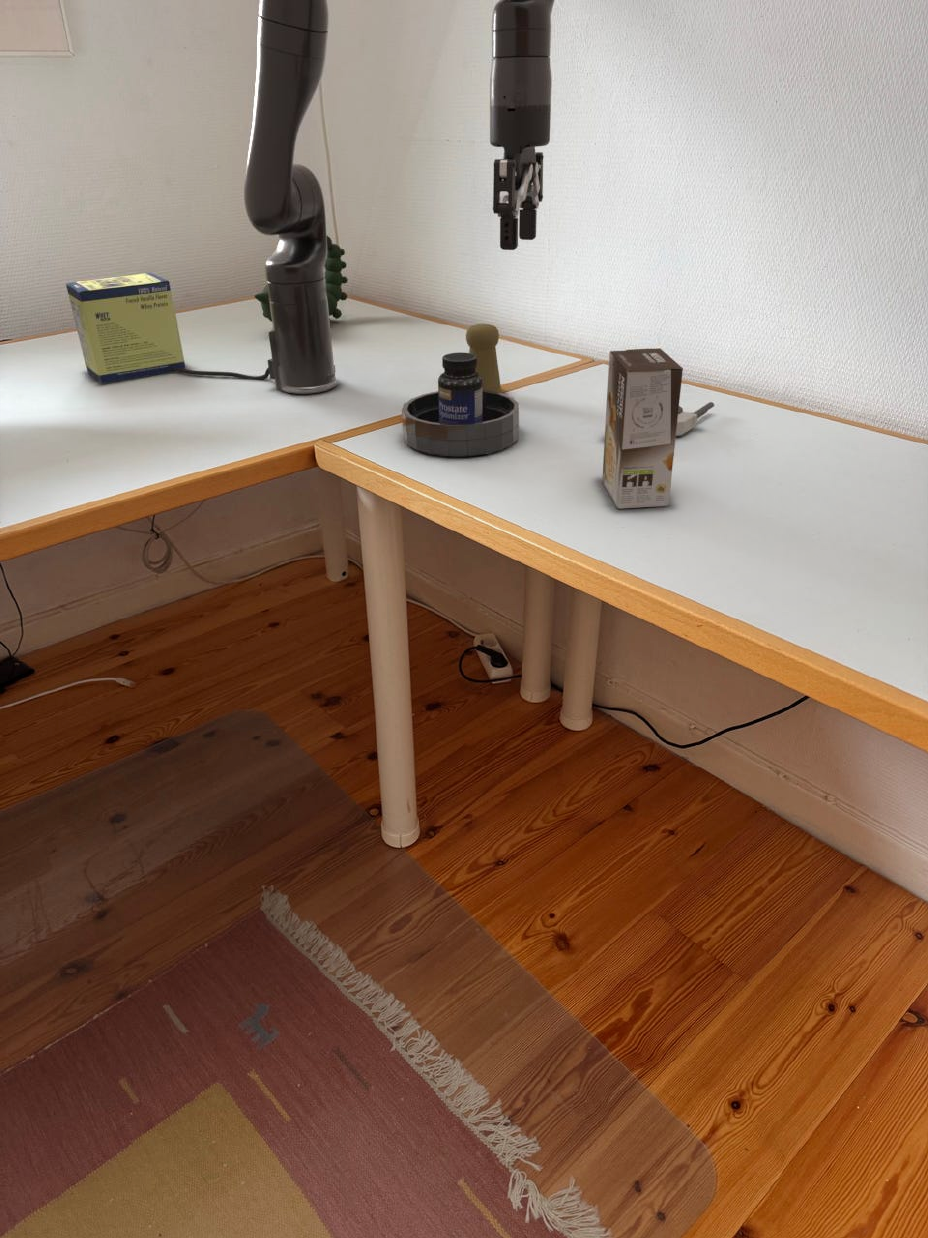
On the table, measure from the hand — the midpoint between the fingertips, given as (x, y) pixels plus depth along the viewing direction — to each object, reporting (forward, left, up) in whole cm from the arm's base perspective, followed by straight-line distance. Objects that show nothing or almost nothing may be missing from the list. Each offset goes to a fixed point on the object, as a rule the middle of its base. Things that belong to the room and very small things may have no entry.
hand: (518, 244), depth 113 cm
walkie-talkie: (+21, +3, -25) cm, 32 cm away
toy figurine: (-61, +44, -25) cm, 80 cm away
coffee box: (+22, -21, -25) cm, 39 cm away
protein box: (-75, +7, -25) cm, 80 cm away
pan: (-5, -9, -24) cm, 26 cm away
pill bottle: (-5, -9, -24) cm, 26 cm away
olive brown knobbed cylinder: (-9, +11, -25) cm, 29 cm away
